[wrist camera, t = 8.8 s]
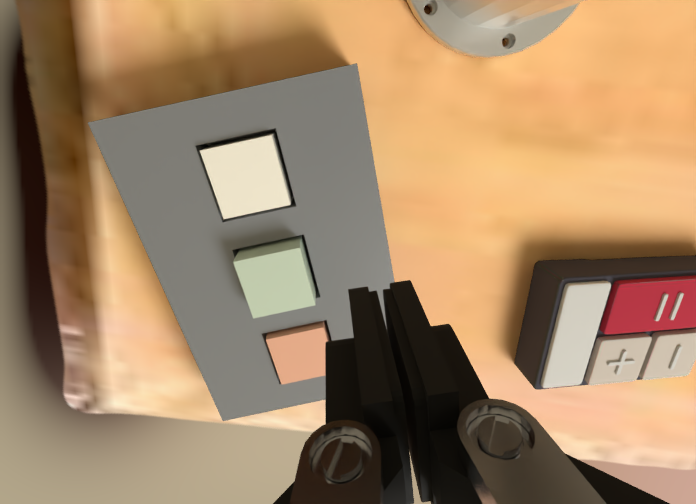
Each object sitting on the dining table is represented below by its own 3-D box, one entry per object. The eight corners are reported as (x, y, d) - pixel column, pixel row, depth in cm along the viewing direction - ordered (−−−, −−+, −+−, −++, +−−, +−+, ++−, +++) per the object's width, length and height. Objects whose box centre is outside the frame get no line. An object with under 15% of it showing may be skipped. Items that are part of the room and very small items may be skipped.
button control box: (694, 381, 34) (538, 397, 32) (652, 351, 38) (512, 364, 36) (743, 271, 30) (567, 282, 28) (690, 250, 34) (534, 259, 32)
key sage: (240, 247, 27) (233, 261, 24) (301, 234, 27) (299, 247, 24) (258, 300, 28) (253, 318, 26) (315, 288, 28) (315, 305, 26)
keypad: (117, 118, 25) (87, 122, 22) (351, 67, 25) (357, 63, 22) (231, 390, 35) (222, 421, 31) (402, 354, 34) (411, 381, 31)
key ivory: (210, 145, 25) (199, 150, 23) (275, 131, 25) (271, 134, 22) (232, 208, 27) (223, 219, 24) (292, 195, 27) (290, 204, 24)
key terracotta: (269, 321, 30) (265, 339, 28) (323, 309, 30) (323, 327, 28) (284, 363, 32) (281, 384, 30) (334, 353, 32) (335, 373, 30)
